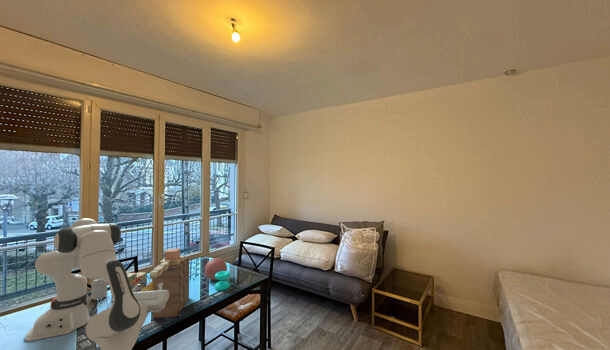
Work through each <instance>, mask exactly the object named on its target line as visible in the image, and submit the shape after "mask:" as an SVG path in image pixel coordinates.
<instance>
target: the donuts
mask: <svg viewBox="0 0 610 350" xmlns="http://www.w3.org/2000/svg"><path fill="white" fill-rule="evenodd" d="M230 276H231V272H230V271H228V270H227V271H221V272H218V273H216V274H215V278H216V279H217V280H216V281H218V282H216V283H215V284H214V290H217V291H227V289H229V288H230V287H231V283H230V282H229V281H228V280H227V279H228V278H230Z"/></svg>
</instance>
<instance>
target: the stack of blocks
mask: <svg viewBox="0 0 610 350" xmlns="http://www.w3.org/2000/svg"><path fill="white" fill-rule="evenodd" d="M126 273H127V276H128V279H129V282H130V285H131V288H132V289H133V288H135V286H136V285H139V284H140V285H141V288H140V290H141V289H143V288H144V287H147V285H148V283H147V281H148V277H147V276H148V275H147V272H145V271H144V272H143V271H141V272H126ZM136 292H139V290H137V291H136ZM112 299H113V298H112V297H111V300H112Z"/></svg>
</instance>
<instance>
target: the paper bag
mask: <svg viewBox="0 0 610 350" xmlns="http://www.w3.org/2000/svg"><path fill="white" fill-rule="evenodd" d="M184 256H185V259H184V260H183V261H182V262H181V263H180V264H179V265H171V266H170V267H169V268H168V269H167V270H166V271H164V272H163V273H162V274H161V275H160V276H159V277H158V278H154V279H152V282H153V291H156V290H158V289H160V288H158V284H159V283H163V286H162V290H168V291H169V295H170V296H169V298H168V300H167V302H166V305H165V307H164V309H162V310H160V311H159V312H152V318H153V319H156V318H169V317H178V315H179V313H180V312H181V311H182V310H183V308H184V306H185V305H186V303H187V302H188V301H189V298H190V255H184ZM158 266H159V264H158V265H156V266H155V267H154V268H152V270H154V269H155V268H156V267H158Z"/></svg>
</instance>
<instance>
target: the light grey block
mask: <svg viewBox="0 0 610 350" xmlns="http://www.w3.org/2000/svg"><path fill="white" fill-rule="evenodd" d="M90 288H91V289H90V291H91V293H90V294H91V297H92V298H93V299H101V298H103V299H105V298H106V297H107V296H108V282H107V281H106V280H105V279H92V282H91V287H90ZM91 297H90V298H91ZM104 297H105V298H104ZM101 300H102V299H101Z"/></svg>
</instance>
